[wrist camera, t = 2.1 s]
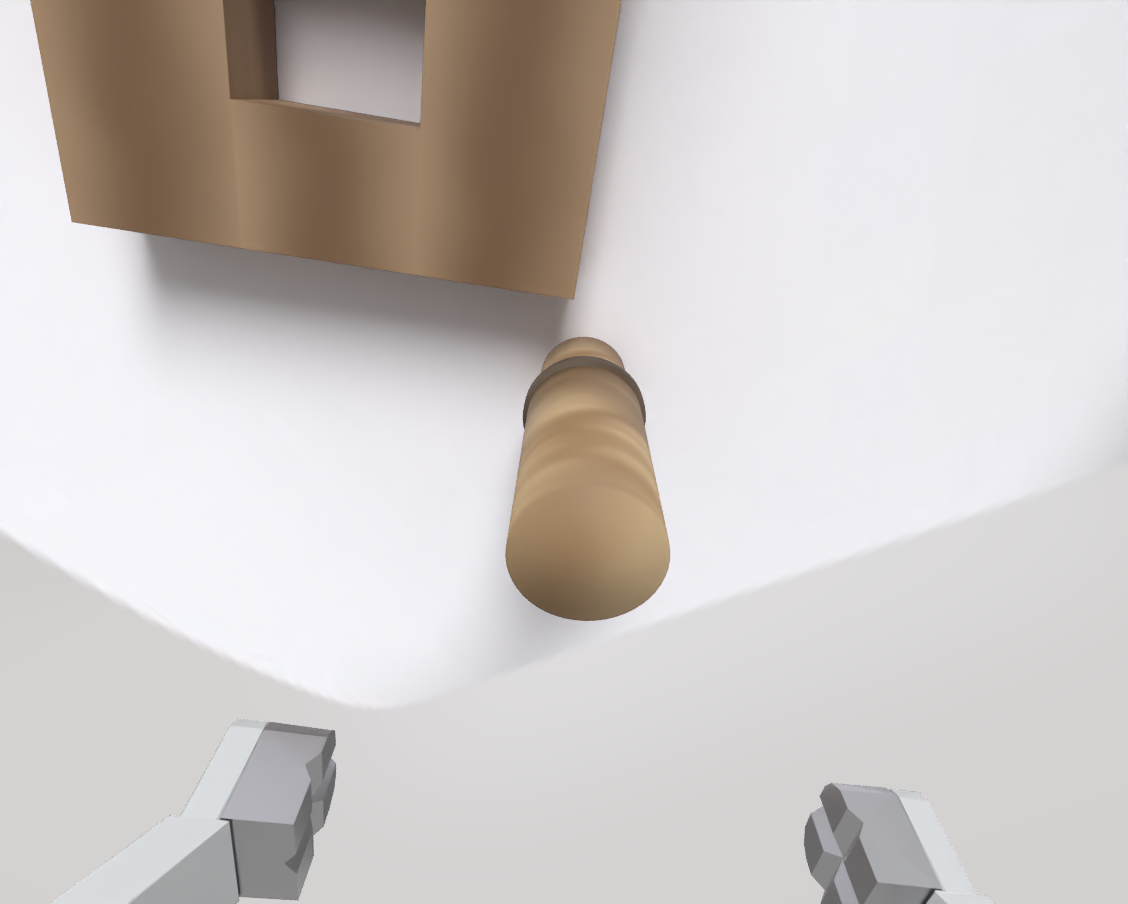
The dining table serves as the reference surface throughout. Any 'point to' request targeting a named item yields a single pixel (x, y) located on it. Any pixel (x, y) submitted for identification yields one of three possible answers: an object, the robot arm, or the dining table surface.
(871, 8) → the dining table surface
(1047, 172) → the dining table surface
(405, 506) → the dining table surface
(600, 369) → the peg
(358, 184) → the board
